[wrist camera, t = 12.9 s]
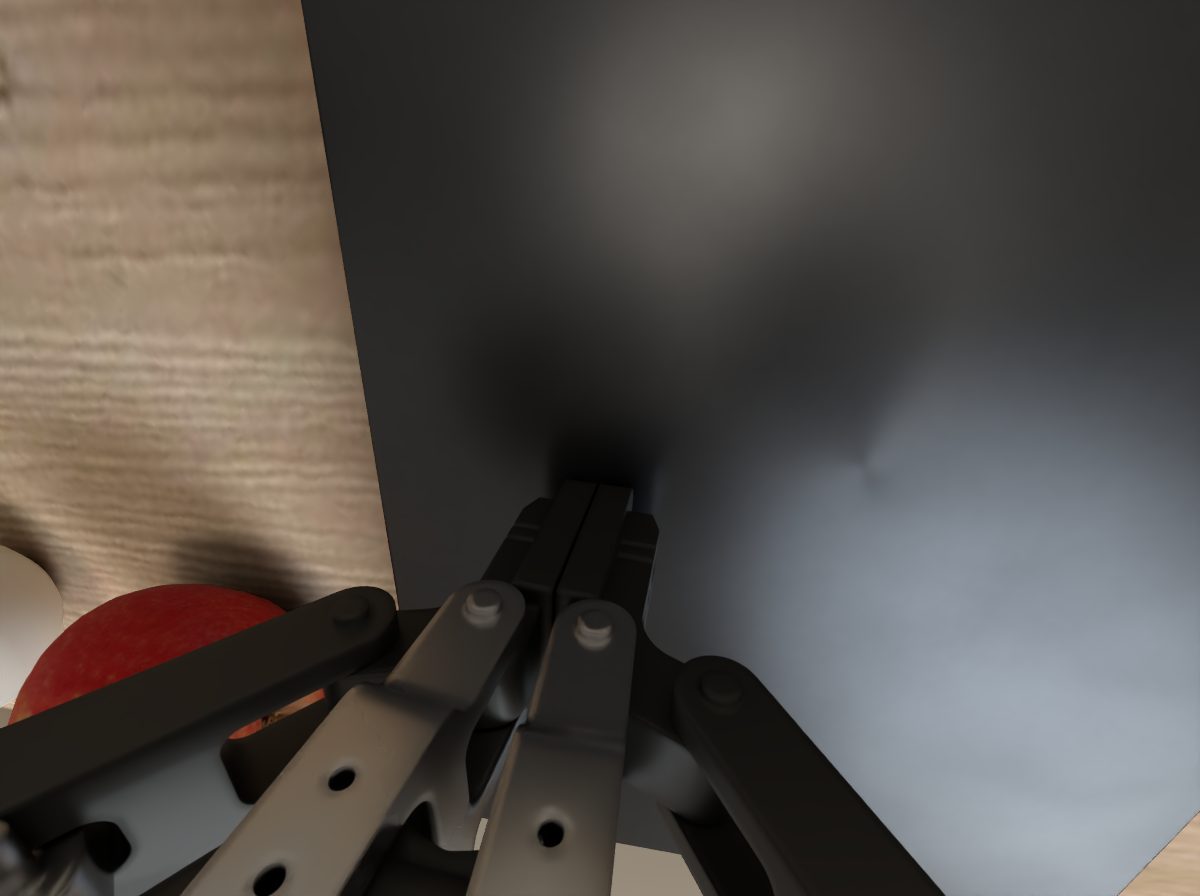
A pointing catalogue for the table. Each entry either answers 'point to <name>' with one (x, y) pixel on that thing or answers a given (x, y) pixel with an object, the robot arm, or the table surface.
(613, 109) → the laptop screen
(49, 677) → the apple
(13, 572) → the white sphere
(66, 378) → the table surface
